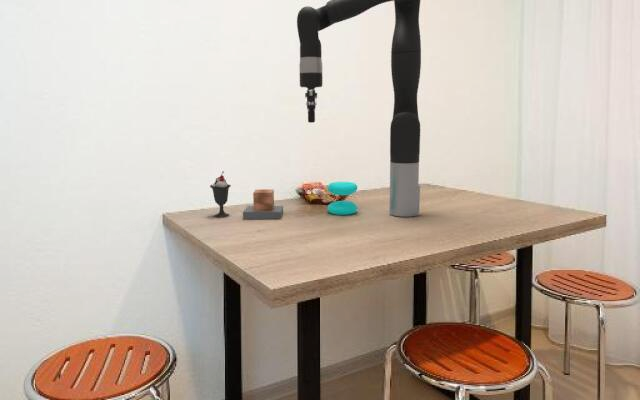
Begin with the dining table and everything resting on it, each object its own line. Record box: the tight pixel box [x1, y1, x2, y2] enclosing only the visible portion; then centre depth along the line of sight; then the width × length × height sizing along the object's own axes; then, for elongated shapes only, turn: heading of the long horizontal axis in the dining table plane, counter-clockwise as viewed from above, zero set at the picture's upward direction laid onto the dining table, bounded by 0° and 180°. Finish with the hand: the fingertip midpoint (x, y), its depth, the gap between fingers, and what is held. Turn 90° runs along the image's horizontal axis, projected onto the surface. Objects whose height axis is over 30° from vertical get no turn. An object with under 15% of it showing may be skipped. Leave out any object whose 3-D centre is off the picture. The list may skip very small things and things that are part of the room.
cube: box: [252, 188, 275, 211], centre depth 158 cm, size 6×6×6 cm
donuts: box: [327, 181, 358, 216], centre depth 162 cm, size 10×10×10 cm
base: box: [242, 205, 284, 221], centre depth 159 cm, size 12×10×3 cm
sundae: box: [209, 170, 231, 218], centre depth 159 cm, size 7×7×15 cm
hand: (311, 122), depth 162 cm, fingers open, 8 cm apart
